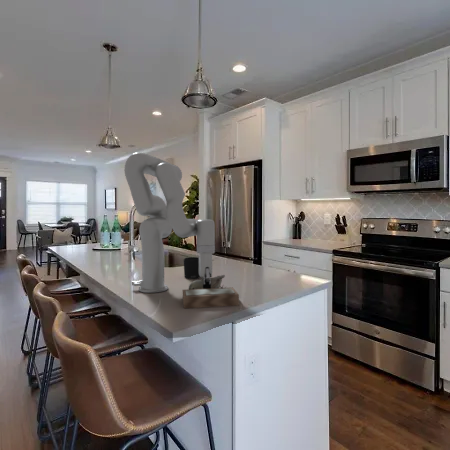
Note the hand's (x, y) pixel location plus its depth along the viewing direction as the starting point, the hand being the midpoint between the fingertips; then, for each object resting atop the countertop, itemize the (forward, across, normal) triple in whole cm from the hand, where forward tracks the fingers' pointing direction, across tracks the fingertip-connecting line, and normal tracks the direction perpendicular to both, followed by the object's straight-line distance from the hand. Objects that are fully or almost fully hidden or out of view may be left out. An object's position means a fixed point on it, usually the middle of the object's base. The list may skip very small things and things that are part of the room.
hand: (206, 291), depth 131 cm
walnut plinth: (+1, +13, 0) cm, 13 cm away
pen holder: (+1, -33, -3) cm, 33 cm away
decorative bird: (+1, 0, 0) cm, 1 cm away
